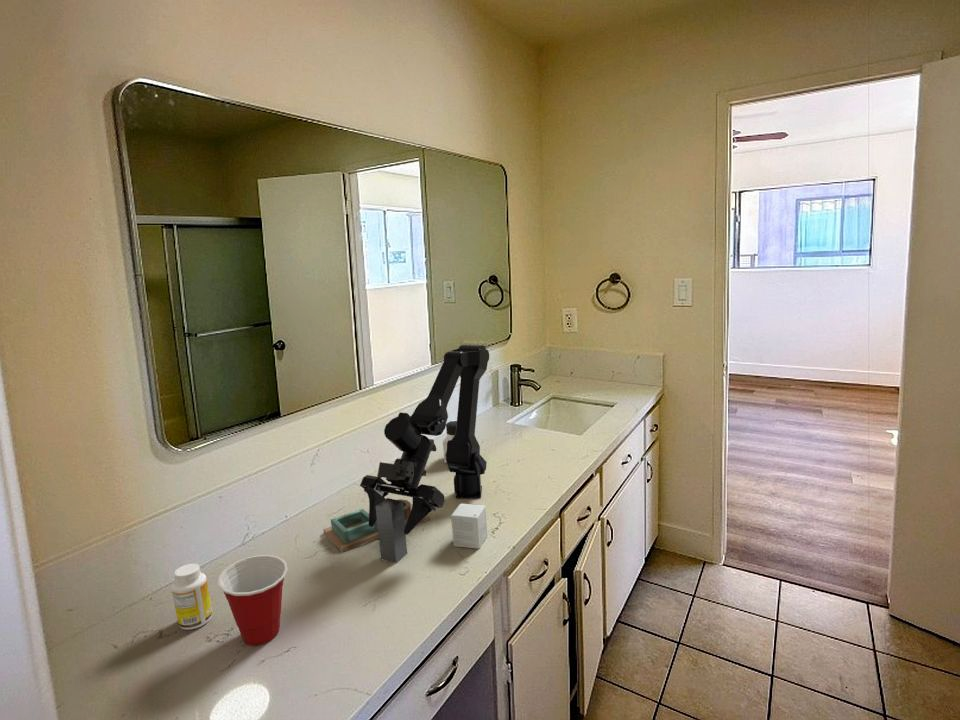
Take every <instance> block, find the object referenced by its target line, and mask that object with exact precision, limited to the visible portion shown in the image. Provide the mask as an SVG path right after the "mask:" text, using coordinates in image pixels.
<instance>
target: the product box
mask: <svg viewBox="0 0 960 720" xmlns="http://www.w3.org/2000/svg"><path fill="white" fill-rule="evenodd" d="M486 508H487V507H486V506H485V505H482V504H481V505H479V504H470V503H469V504H467V503H460V504H459V505H458V506H457V507H456V509H455V510H454V511H453V513H452V514H451V516H450V518H451V530H452V541H453V547H460V548H469V549H478V550H479V549H480V548H481V547H482V546H483V544H484V541H486V538H487V536H488V523H487V520H488V519H487V509H486Z"/></svg>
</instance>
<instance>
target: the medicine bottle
mask: <svg viewBox="0 0 960 720" xmlns="http://www.w3.org/2000/svg"><path fill="white" fill-rule="evenodd" d="M456 425H457V419H455V420H451V421H450V420H449V421H448V422H446V427H445V429H446V432H445V433H446V436H445V438H444V439H443V441H442V447H443V448H442V449H443V461H444V463H445V464H447V462H446V456H445V455H446V451H447V442H448V440H452V438H453V437H454V436H455V434H456Z"/></svg>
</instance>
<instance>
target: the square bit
mask: <svg viewBox="0 0 960 720" xmlns="http://www.w3.org/2000/svg"><path fill="white" fill-rule="evenodd" d="M376 515H377V526H378V536H379V539H378V544H379V553H380V554H379V555H380V560H382V559H383V561H387V562H389V563H395V564H397V563H398V562H400V560H402V559H403V558H404V557H405V556H406V555H407V554H408V546H407V545H408V544H407V535H405V534H404V529H405V520H404V509H403V501H400V500H399V499H394V498H390V497H387V498H386V499H385V500H384V501H382V502H381V503H379V504H378V505H376Z"/></svg>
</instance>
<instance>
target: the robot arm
mask: <svg viewBox="0 0 960 720" xmlns="http://www.w3.org/2000/svg"><path fill="white" fill-rule="evenodd" d="M489 361H490V352H489V350H488V349H487V348H486V346H485V345H481V344H479V345H478V344H461V345H459V347H457V348H455V349H450V350H449V351H446V352H445V353H444V355H443V363H442V364H441V367H440V369H439V371H438V374H437V376H436V378H435V379H434V382H433V384H432V386H431V389H430V391H429V394H428V395H427V397H426V398H425V399H423V400H422V401H420V403H418V404H417V406H416V407H415V409H414V411H413V413H412V414H411V415H410V414H409V413H408V412H403V411H401V412H398V415H397V416H396V417H394V418H392V419H390V420H389V422H388V423H386V425H384V429H383V430H384V431H383V433H384V437H385V438H386V439H387V440H388V441H389V442H390V443H391V444H393V446H395V447H396V448H397V449H398V450H399V451H400V452H402V454H401V455H400V456H401V457H400V458H396V459H395V460H394V461H393V462H394V463H388V462H382V461H379V464H378V471H377V474H376V475H377V476H376V475H369V474H366V475H365V476H363V478H362V479H361V482H360V483H359V486H360V487H361V488H362V489H363V491H364V493H366V494H367V496H368V501H369V502H368V503H369V506H368V507H369V508H368V509H369V510H368V513H369V526H370V527H373V525H374V524H375V522H376V521H377V515H376V505H378V504H379V503H381V502H382V501H384V500H385V499H387V498H386V497H387V496H388V495H389V494H392V495H399V496H403V497H408V498H412V505H413V506H412V509H411V512H410V515H409V518H408V520H407V523H406V526H405V529H404V534H405V535H406V536H407V535H409V534H410V533H411V531H413V530H414V528H416V526H418V525H419V524H420V523H419V522H420V521H421V520H422V519H423V518H424V517H425V516H427V515H429V514H430V513H431V512H436V510H437V509H443V507H444V504H445V501H446V499H445V498H446V496H445V494H444V493H442V492H441V490H440V489H438V488H437V487H436V486H433V485H428V484H422V483H421V479H422V477H426V476H427V470H425V468H426V466H427V463H428V461H429V457H430V455H431V452H437V446H436V444H435V440H434V439H432V438H429V437H428V436H432V437H438V436H441V435H442V434H443V433H444V431H445V429H446V424H447V423H448V422H447V421H448V419H449V413H448V409H447V408H448V404H449V402H450V400H451V397H452V394H453V393H454V391H455V388H456V385H457V383H458V381H459V378H460V383H459V395H458V402H457V403H458V405H457V417H456V420H457V425H456V434H455V436H454V437H453V438H452V440H448V442H447V451H446V455H445V456H446V462H447V463H446V465H447V467H448V471H449V473H455V475H454V477H453V487H454V488H453V489H454V494H455V499H479V498H481V497H482V490H483V486H482V481H481V477H482V476H481V475H485V473H486V470H487V463H488V462H487V461H486V459H484V458H483V456H482V455H481V452H480V451H481V445H479V441H478V439H477V438H476V435H475V434H476V423H477V412H478V411H477V410H478V403H479V402H478V400H479V389H480V379H481V378H482V377H483V376H484V374H485V373H486V371H487V368H488V364H489ZM383 478H385V480H386V481H387V482H386V481H385V480H384V479H383ZM388 482H389V483H388ZM420 483H421V484H420ZM418 523H419V524H418Z"/></svg>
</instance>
